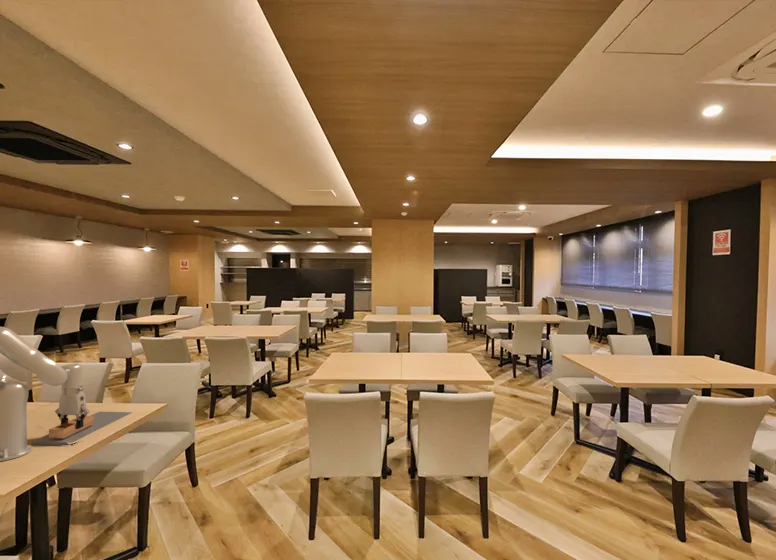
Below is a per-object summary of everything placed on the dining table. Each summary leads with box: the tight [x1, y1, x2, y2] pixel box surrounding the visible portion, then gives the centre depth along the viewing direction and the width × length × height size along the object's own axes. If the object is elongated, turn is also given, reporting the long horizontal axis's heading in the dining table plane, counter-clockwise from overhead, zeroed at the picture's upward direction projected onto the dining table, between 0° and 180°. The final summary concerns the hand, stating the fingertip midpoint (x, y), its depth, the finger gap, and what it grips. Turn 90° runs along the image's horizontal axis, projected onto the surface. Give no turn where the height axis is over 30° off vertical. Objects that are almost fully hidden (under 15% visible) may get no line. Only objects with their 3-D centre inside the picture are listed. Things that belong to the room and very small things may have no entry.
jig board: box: [31, 411, 134, 446], centre depth 182 cm, size 36×19×4 cm, turn 177°
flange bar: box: [48, 415, 94, 439], centre depth 174 cm, size 16×7×4 cm, turn 177°
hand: (72, 427), depth 174 cm, fingers closed on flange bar, 7 cm apart
